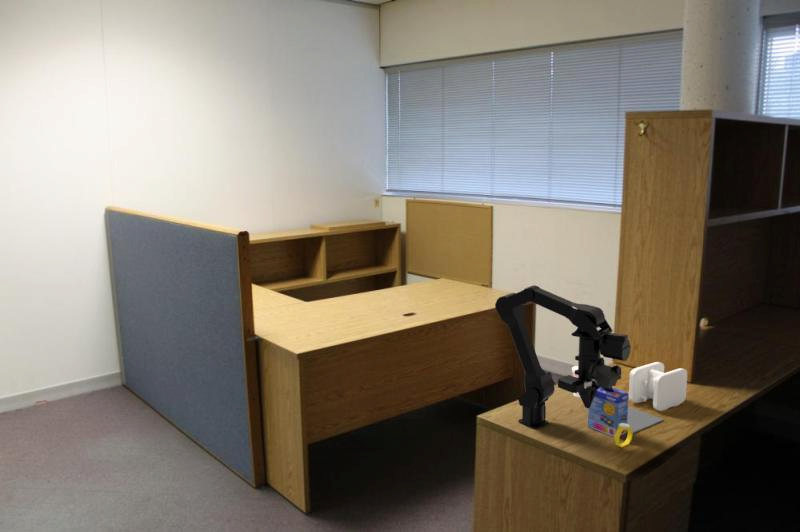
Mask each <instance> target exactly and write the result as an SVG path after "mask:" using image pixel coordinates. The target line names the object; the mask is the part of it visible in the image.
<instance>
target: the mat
mask: <svg viewBox="0 0 800 532" xmlns="http://www.w3.org/2000/svg"><path fill="white" fill-rule="evenodd" d="M664 421H665V419H664V418H661V417H659V416H656V415H654V414H651V413H648V412H645V411H642V410H640V409H637V408H634V407H632V406H628V415H627V424H628V425H630V427H631V429H632V431H633V434H635V433H638V432H640V431H643V430H645V429H648V428H649V427H652V426H655V425H657V424H659V423H662V422H664ZM627 433H628V429H627Z"/></svg>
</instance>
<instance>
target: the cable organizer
mask: <svg viewBox="0 0 800 532" xmlns="http://www.w3.org/2000/svg"><path fill="white" fill-rule="evenodd" d="M687 384H688V370H686V369H685V368H682V367H680V368H679V367H678V368H676V369H673V370H670V371H667V372H665V364H664V363H662V362H660V361H654V362H652V363H647V364H645V365H641V366H638V367H634V368H633V369H632V370H631V371H630V372H629V385H628V401H629V402H633V403H635V404H639V403H643V402H647V400H650V399H652V407H653V409H654V410H656V411H659V412H663V411H664V412H665V411H666V410H668V409H670V408H672V407H677V406H680V405H681V404H683V403H684V402H685V400H686V398H687V397H686V396H687Z"/></svg>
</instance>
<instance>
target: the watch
mask: <svg viewBox="0 0 800 532" xmlns="http://www.w3.org/2000/svg"><path fill="white" fill-rule="evenodd" d="M624 429H625V430H627V429H628V432H627V436H626V439H625V440H624V442H622V443H620V437H621V436H622V435H621V432H622V431H623V430H624ZM633 434H634V433H633V431H632V429H631V427H630V425H628V424H625V423H621V424H619V428H618V429H617V431H616V434H615V437H614V443H615V445H616V446H618V447H619V448H624V447H626V446H629V445H630V444H631V442H632V439H633ZM620 435H621V436H620Z"/></svg>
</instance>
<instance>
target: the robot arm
mask: <svg viewBox="0 0 800 532" xmlns="http://www.w3.org/2000/svg"><path fill="white" fill-rule="evenodd" d="M528 303H534V304H535V305H538V306H539V307H542V308H545V309H547V310H549V311H551V312H553V313H556V314H558V315H560V316H562V317H564V318H566V319H567V320H569V321H570V323H571V324H572V325H573V326H574V327H576V329H575V330H574V331H572V332H571V336H572V337H577V338H578V355H575V356H574V360H575V361H578V362H577V363H578V364H577V366H578V370H575V374H576V375H578V376H579V377H578V378H576V377H573V375H570V374H568V375H564V376H562V377H559V379H557V388H559V389H561V390H564V391H566V392H570V393H572V394H573V393H577V392H578V393H579V395H580V397H581V398H580V399H581V401H582V404H583V407H584V408H586V409H588V408H590V406H591V404H592V401H593V399H594V396H595V394H596V392H597V390H598V389H599V388H600V387H604V388H609V387H611V386H612V387H614V386H615V387H616V385H617V383H618V380H621V379H622V367H621V366H620V365H618V364H616V365H612V366H611V365H607V364H606V363H605V359H604V358H607V359H613V360H618V361H623V362H627V361H628V359H629V357H630V354H631V349H632V346H631V343H630V340H629V337H628V335H627V334H623V333H613V331H614V330H613V329H612V327H611V325H610V324H609V323H608V320H607V319H606V318H605V317H606V316H605V313H604V310H602V308H600V307H597V306H594V305H591V304H583V303H576V302H573V301H571V300H569V299H566V298H564V297H562V296H559V295H557V294H554V293H552V292H550V291H547V290H546V289H543V288H540V286H537V285H535V284H534V285H530V286H527V287H524V289H523V290H520V291H519V292H511V293H507V294H505V295H502V296H500V297H498V298H497V299H496V302H495V304H494V306H495V311H496V313H497V314H498V316H499V318H500V320H502V322H503V323H504V324H505V325H506V326H507V327H508V329H509V332H510V334H511V338H512V340H513V343H514V346H515V348H516V352H517V354H518V357H519V361H520V362H521V365H522V368H523V372H524V383H523V384H524V389H525V392H524V394H522V395H521V396H520V397H518V398H517V400H518V405H519V406H521V407H522V413H521V415H522V416H521V419H518V420H517V421H518V423H520V424H522V425H525V426H527V427H529V428H531V429H537V428H540V427H543V426H546V425H549V424H550V421H549V420H546V416H547V415H546V411H547V409H546V402H547V401H549V398H550V397H552V395H554V392H555V386H556V383H555V381H554V379H553V376H552V373H551V371H547V372H546V370H544V369H543V368H542V367H541V364H540V361H539V358H538V356H537V352H536V349H535V347H534V344H533V341H532V339H531V336H530V333H529V330H528V327H527V325H526V322H525V318H526V308H525V304H528ZM598 328H600V329H598ZM601 356H603V357H601Z"/></svg>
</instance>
